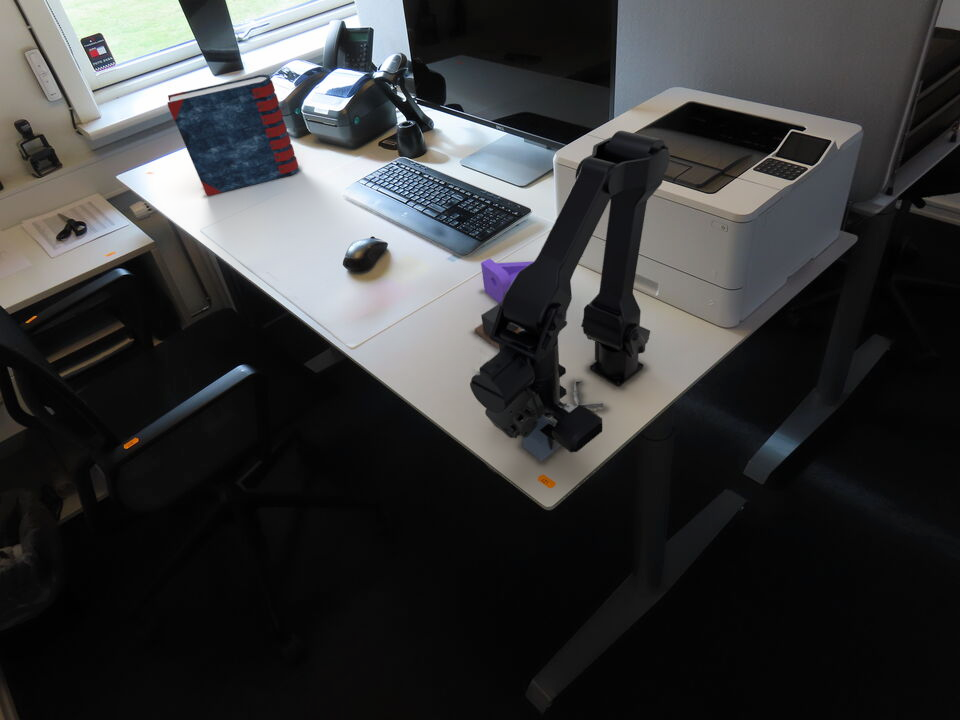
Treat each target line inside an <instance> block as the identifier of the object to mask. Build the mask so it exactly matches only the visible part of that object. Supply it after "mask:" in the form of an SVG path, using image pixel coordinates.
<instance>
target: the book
mask: <svg viewBox="0 0 960 720" xmlns="http://www.w3.org/2000/svg"><path fill="white" fill-rule="evenodd" d="M275 91H276V89H275V85H274V83H273V80H272V79H271V76H270V75H269V74H258V75H254V76H249V77H245V78H241V79H236V80H231V81H227V82H222V83H217V84H214V85H209V86H206V87H200V88H196V89H191V90H186V91H180V92H176V93H173V94H169V95H167V97H168V101H167V108H168V109H169V112H170V114H171V117H172V118H173V121H174V122H175V125H176V127H177V129H178V131H179V134H180V136H181V139H182V141H183V143H184V145H185V148H186V150H187V153H188V155H189V157H190V160H191V162H192V164H193V167H194V169H195V172H196V174H197V176H198V178H199V181H200V183H201V185H202V188H203V190H204V193H205V195H206V197H209V196H214V195H218V194H221V193H225V192H230V191H233V190H238V189H242V188H245V187H250V186H254V185H257V184H262V183H266V182H269V181H275V180H279V179H282V178H286V177H291V176H294V175H295V174H297V173H298V172H299V171H300V169H299V162H298V160H297V156H296V154H295V150H294V146H293V144H292V140H291V137H290V133H289V132H288V128H287V125H286V122H285V120H284V115H283V110H282V108H281V106H280V101H279V98H278V96H277V94H276V92H275Z"/></svg>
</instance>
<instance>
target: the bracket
mask: <svg viewBox="0 0 960 720" xmlns="http://www.w3.org/2000/svg"><path fill="white" fill-rule="evenodd" d="M534 261H535V260H534ZM534 261H531V260H530V261H513V262H512V261H511V262H495V261H494V260H493V259H491V258H487V259H485V260H483V261H480V267H481V273H482V280H483V281H482V283H483V288H484V292H485V293H486V294H487V295H488V296H489V297H490V298H492V299H493V300H494V301H495V302H497V303H498V304H500V303H501V302H502V299H503V296H504V294H505V292H506V291H507V290H508V289H509V287H510V285H511V284H512V282H513V281H514V279H515V277H516V276H517V274H518V273H519V272H520V271H521V270H522V269H524V268H525V267H527V266H528V265H530V264H531V263H533V262H534Z"/></svg>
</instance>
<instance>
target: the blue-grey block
mask: <svg viewBox="0 0 960 720" xmlns="http://www.w3.org/2000/svg"><path fill="white" fill-rule="evenodd" d="M536 419H537V421H538V425H537V427H536V428H535V429H534V430H533V431H532V433H531V434H530V435H529V436H528V437H526V438H524V437H522V436H521V443H522V448H523V449H524V450H526V451H527V452H528V453H530V454H531V455H532V456H534V457H535V459H536V458H537V459H538V461H540V462H542V461H544V460H545V459H547V457H549V456H550V455H551V454H553V453H554V452H555V451H556V450H557V449H559V448H560V447H562V446H561V445H560V444H559V445H558V446H557V447H556V448H555V449H554V450H551V449H550V447H549V443H548V437H547V436H546V435H545V434H543V433H542V432H541V431H540V430H541V429H542V428H543V427H545V426H546V425H547V424H548V423H549V422H550V421H551V420H547V419H546V418H545V417H543V416H542V417H541V418H539V419H538V418H536Z"/></svg>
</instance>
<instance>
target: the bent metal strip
mask: <svg viewBox="0 0 960 720" xmlns="http://www.w3.org/2000/svg"><path fill="white" fill-rule="evenodd" d="M574 381H575V383H573V393H572V395H573V401H574V403H575V405H574V406H575V407H577V406H578V405H582V406H585V407H586V408H588V409H589V410H591V411H592V412H594V411H603V410H604V403H603V402H599V403H596V402H595V403H580V400H579V392H578V386H577V385H578V384H580V383H582V382H583V381H582V380H576V379H575V380H574Z"/></svg>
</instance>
